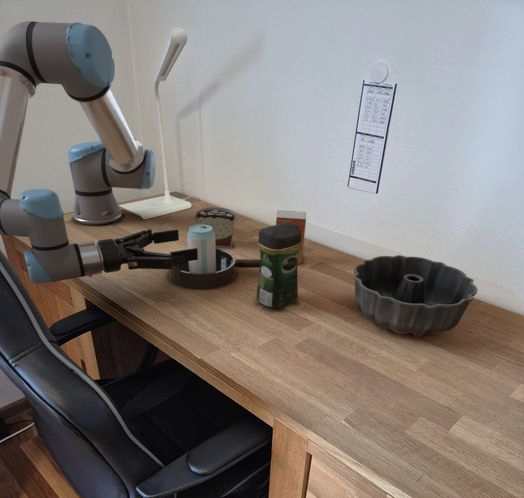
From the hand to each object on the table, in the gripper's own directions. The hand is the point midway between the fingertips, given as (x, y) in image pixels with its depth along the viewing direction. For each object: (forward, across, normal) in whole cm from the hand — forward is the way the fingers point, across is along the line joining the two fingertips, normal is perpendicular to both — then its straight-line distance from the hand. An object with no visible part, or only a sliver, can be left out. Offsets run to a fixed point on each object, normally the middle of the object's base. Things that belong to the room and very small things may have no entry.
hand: (187, 243), depth 114 cm
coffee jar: (+14, +21, -9) cm, 27 cm away
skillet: (+4, 0, -9) cm, 10 cm away
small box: (+30, 0, -9) cm, 31 cm away
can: (+4, 0, -8) cm, 9 cm away
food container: (+16, -18, -9) cm, 26 cm away
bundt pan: (+38, +40, -9) cm, 56 cm away
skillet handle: (+17, +6, -7) cm, 20 cm away
